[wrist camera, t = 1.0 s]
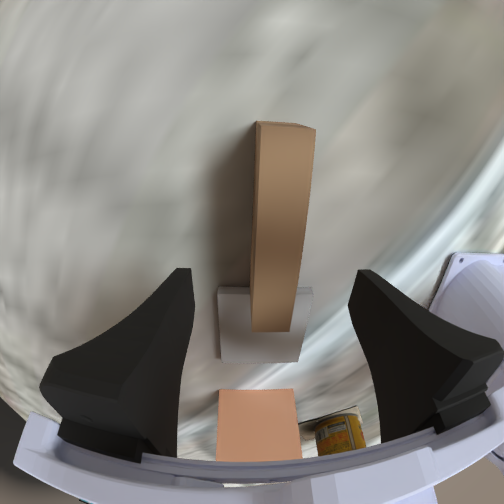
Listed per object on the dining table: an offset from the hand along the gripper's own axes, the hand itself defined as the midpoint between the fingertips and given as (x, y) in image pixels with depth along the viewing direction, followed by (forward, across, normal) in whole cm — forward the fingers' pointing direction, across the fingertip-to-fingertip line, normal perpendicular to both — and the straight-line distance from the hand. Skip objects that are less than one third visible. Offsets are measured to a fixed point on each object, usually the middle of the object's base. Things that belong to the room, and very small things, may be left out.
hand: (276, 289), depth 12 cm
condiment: (+5, -10, +26) cm, 29 cm away
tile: (+5, 0, +16) cm, 17 cm away
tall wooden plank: (+5, 0, +2) cm, 5 cm away
